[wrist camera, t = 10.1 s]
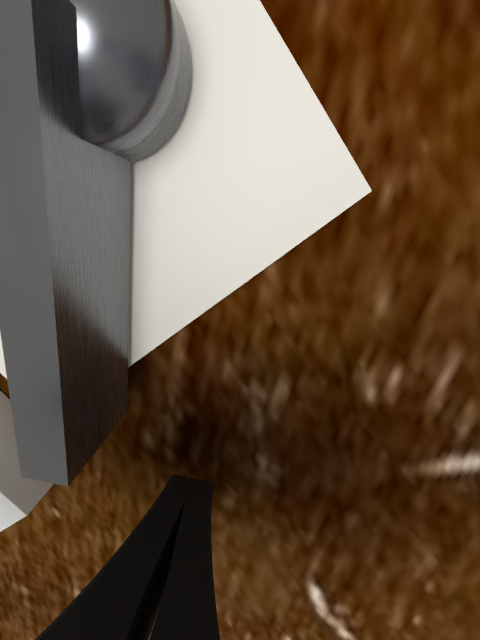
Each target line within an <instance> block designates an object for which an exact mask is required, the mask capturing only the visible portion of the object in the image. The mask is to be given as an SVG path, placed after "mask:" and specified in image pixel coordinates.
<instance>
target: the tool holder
mask: <svg viewBox="0 0 480 640" xmlns="http://www.w3.org/2000/svg"><path fill="white" fill-rule="evenodd" d="M53 484H54V483H49V482H44V481H39V480H35V479H30V478H25V477H21V471H20V464H19V457H18V450H17V443H16V436H15V430H14V423H13V416H12V409H11V402H10V399H9V398H8V397H7V396H5V395H4V394H3V393H2V392H1V391H0V532H1V531H2V530H4V529H6V528H7V527H9V526H11V525H12V524H14V523H15V522H17V521H19V520H20V519H22V518H24V517H25V516H27V515H28V514H29V513H30V511H31V510H32V509H33V508H34V507H35V505H36V504H37V503H38V502H39V501H40V500H41V498H42V497H43V496H44V495H45V494H46V492H47V491H48V490H49V489H50V488H51V487H52V485H53Z"/></svg>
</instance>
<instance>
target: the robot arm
mask: <svg viewBox="0 0 480 640" xmlns="http://www.w3.org/2000/svg"><path fill="white" fill-rule="evenodd" d="M213 489H214V486H213V484H212V483H210V482H206V481H202V480H197V479H193V478H188V477H184V476H180V475H173V476H171V477H170V479H169V481H168V483H167V484H166V486H165V487H164V489H163V491H162V492H161V494H160V495H159V497H158V498H157V500H156V501H155V502H154V504H153V505H152V507H151V508H150V509H149V511H148V512H147V514H146V515H145V516H144V518H143V519H142V520H141V521H140V523H139V524H138V525H137V527H136V528H135V529H134V530H133V532H132V533H131V534H130V536H129V537H128V538H127V539H126V541H125V542H124V543H123V544H122V546H121V547H120V548H119V549H118V550H117V552H116V553H115V554H114V555H113V556H112V557H111V559H110V560H109V561H108V562H107V563H106V564H105V566H104V567H103V568H102V569H101V570H100V572H99V573H98V574H97V575H96V576H95V577H94V578H93V579H92V581H91V582H90V583H89V584H88V585H87V586H86V587H85V588H84V589H83V591H82V592H81V593H80V594H79V595H78V596H77V597H76V598H75V599H74V600H73V601H72V602H71V603H70V604H69V606H68V607H67V608H66V609H65V610H64V611H63V612H62V613H61V614H60V615H59V616H58V617H57V618H56V619H55V620H54V621H53V622H52V623H51V624H50V625H49V626H48V627H47V628H46V629H45V630H44V631H43V632H42V633H41V634H40V635H39V636H38V637H37V638H36V639H35V640H148V638H149V636H150V633H151V630H152V627H153V624H154V621H155V619H156V621H155V624H154V627H153V630H152V634H151V637H150V640H220V636H219V628H218V620H217V612H216V602H215V592H214V582H213V569H212V549H211V506H212V496H213ZM160 604H161V605H160ZM159 607H160V608H159ZM158 610H159V611H158ZM157 613H158V614H157ZM156 616H157V618H156Z"/></svg>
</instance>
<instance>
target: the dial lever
mask: <svg viewBox="0 0 480 640" xmlns="http://www.w3.org/2000/svg"><path fill="white" fill-rule="evenodd" d="M190 80H191V57H190V47H189V42H188V37H187V33H186V29H185V26H184V23H183V20H182V17H181V15H180V13H179V10H178V8H177V6H176V3H175V1H174V0H0V334H1V341H2V347H3V354H4V361H5V368H6V375H7V382H8V388H9V395H10V402H11V409H12V416H13V423H14V430H15V436H16V443H17V450H18V457H19V464H20V471H21V477H25V478H30V479H35V480H39V481H44V482H49V483H54V484H59V485H64V486H69V485H70V484H71V482H72V481H73V480H74V478H75V477H76V476H77V475H78V473H79V472H80V471H81V469H82V468H83V467H84V466H85V464H86V463H87V462H88V461H89V459H90V458H91V457H92V455H93V454H94V453H95V452H96V450H97V449H98V448H99V446H100V445H101V444H102V443H103V441H104V440H105V439H106V437H107V436H108V435H109V434H110V432H111V431H112V430H113V428H114V427H115V426H116V425H117V423H118V422H119V421H120V420H121V418H122V417H123V416H124V414H125V413H126V412H127V411H128V341H129V264H130V186H131V161H135V160H138V159H140V158H143V157H145V156H147V155H149V154H150V153H152V152H153V151H155V150H156V149H157V148H159V147H160V146H161V145H162V144H163V143H164V142H165V141H166V140H167V139H168V137H169V136H170V135H171V134H172V132H173V131H174V129H175V128H176V126H177V124H178V122H179V120H180V118H181V116H182V114H183V111H184V108H185V105H186V102H187V98H188V93H189V88H190Z"/></svg>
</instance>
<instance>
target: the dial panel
mask: <svg viewBox="0 0 480 640" xmlns="http://www.w3.org/2000/svg"><path fill="white" fill-rule="evenodd" d="M174 1H175V3H176V6H177V8H178V10H179V13H180V15H181V17H182V20H183V23H184V26H185V29H186V33H187V37H188V42H189V47H190V57H191V80H190V88H189V93H188V98H187V102H186V105H185V108H184V111H183V114H182V116H181V118H180V120H179V122H178V124H177V126H176V128H175V129H174V131H173V132H172V134H171V135H170V136H169V137H168V139H167V140H166V141H165V142H164V143H163V144H162V145H161V146H160V147H159V148H157V149H156V150H155V151H153V152H152V153H150V154H149V155H147V156H145V157H143V158H140V159H138V160H135V161H131V186H130V264H129V341H128V367H130V366H131V365H132V364H134V363H135V362H136V361H138V360H139V359H141V358H142V357H143V356H145V355H146V354H148V353H149V352H150V351H152V350H153V349H154V348H156V347H157V346H159V345H160V344H161V343H163V342H164V341H165V340H167V339H168V338H170V337H171V336H172V335H174V334H175V333H176V332H178V331H179V330H181V329H182V328H183V327H185V326H186V325H188V324H189V323H190V322H192V321H193V320H194V319H196V318H197V317H199V316H200V315H201V314H203V313H204V312H205V311H207V310H208V309H210V308H211V307H212V306H214V305H215V304H217V303H218V302H219V301H221V300H222V299H223V298H225V297H226V296H228V295H229V294H230V293H232V292H233V291H234V290H236V289H237V288H239V287H240V286H241V285H243V284H244V283H245V282H247V281H248V280H250V279H251V278H252V277H254V276H255V275H257V274H258V273H259V272H261V271H262V270H263V269H265V268H266V267H268V266H269V265H270V264H272V263H273V262H274V261H276V260H277V259H279V258H280V257H281V256H283V255H284V254H285V253H287V252H288V251H290V250H291V249H292V248H294V247H295V246H297V245H298V244H299V243H301V242H302V241H303V240H305V239H306V238H308V237H309V236H310V235H312V234H313V233H314V232H316V231H317V230H319V229H320V228H321V227H323V226H324V225H326V224H327V223H328V222H330V221H331V220H332V219H334V218H335V217H337V216H338V215H339V214H341V213H342V212H343V211H345V210H346V209H348V208H349V207H350V206H352V205H353V204H354V203H356V202H357V201H359V200H360V199H361V198H363V197H364V196H366V195H367V194H368V193H370V192H371V191H372V190H371V188H370V187H369V185H368V183H367V182H366V180H365V178H364V177H363V175H362V173H361V171H360V170H359V168H358V166H357V165H356V163H355V161H354V160H353V158H352V156H351V155H350V153H349V151H348V149H347V148H346V146H345V144H344V143H343V141H342V139H341V138H340V136H339V134H338V132H337V131H336V129H335V127H334V126H333V124H332V122H331V121H330V119H329V117H328V115H327V114H326V112H325V110H324V109H323V107H322V105H321V104H320V102H319V100H318V99H317V97H316V95H315V93H314V92H313V90H312V88H311V87H310V85H309V83H308V82H307V80H306V78H305V76H304V75H303V73H302V71H301V70H300V68H299V66H298V65H297V63H296V61H295V59H294V58H293V56H292V54H291V53H290V51H289V49H288V48H287V46H286V44H285V43H284V41H283V39H282V37H281V36H280V34H279V32H278V31H277V29H276V27H275V26H274V24H273V22H272V20H271V19H270V17H269V15H268V14H267V12H266V10H265V9H264V7H263V5H262V3H261V2H260V0H174ZM0 373H1V374H2V375H3V376H4V377H5V378H6V379H7V375H6V368H5V361H4V354H3V347H2V341H1V334H0Z"/></svg>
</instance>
